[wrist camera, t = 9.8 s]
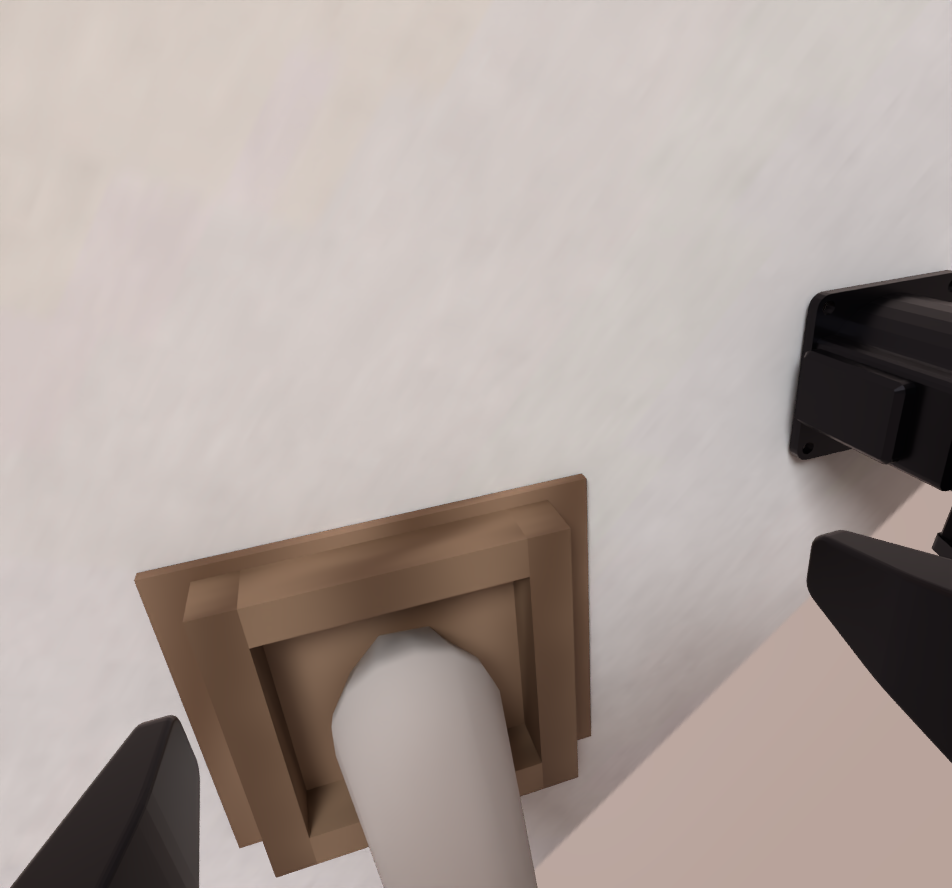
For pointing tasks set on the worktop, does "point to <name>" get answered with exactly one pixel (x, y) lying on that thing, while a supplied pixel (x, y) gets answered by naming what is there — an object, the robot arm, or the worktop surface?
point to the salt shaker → (431, 766)
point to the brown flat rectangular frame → (354, 631)
